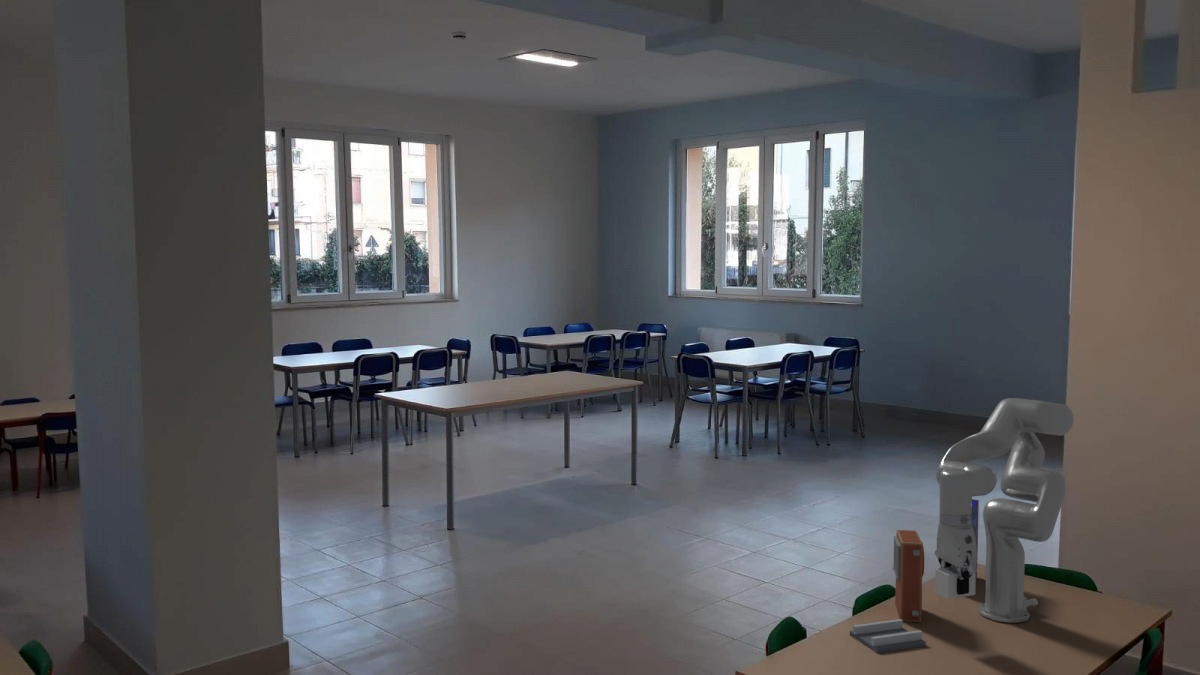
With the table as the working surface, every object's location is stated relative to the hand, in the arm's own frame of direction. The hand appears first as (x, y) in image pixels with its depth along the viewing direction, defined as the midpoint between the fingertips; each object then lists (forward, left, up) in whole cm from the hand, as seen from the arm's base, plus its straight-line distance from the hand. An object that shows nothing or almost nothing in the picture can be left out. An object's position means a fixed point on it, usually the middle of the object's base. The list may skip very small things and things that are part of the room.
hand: (955, 589), depth 234 cm
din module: (0, 0, -1) cm, 1 cm away
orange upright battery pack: (0, -20, -14) cm, 24 cm away
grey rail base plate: (+16, -6, -13) cm, 21 cm away
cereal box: (-30, -34, -14) cm, 48 cm away
